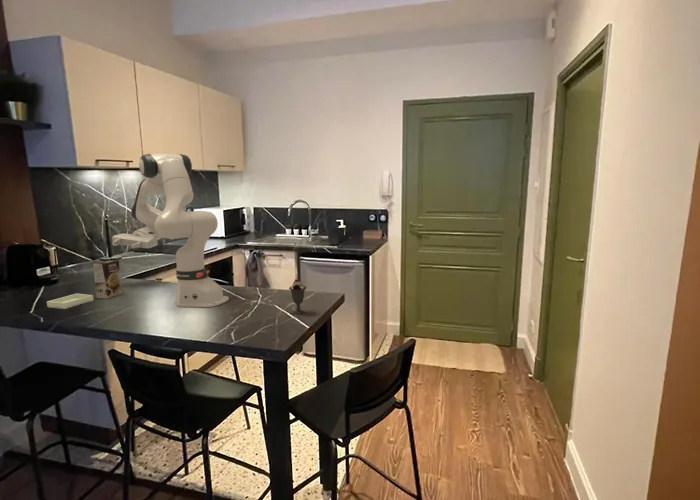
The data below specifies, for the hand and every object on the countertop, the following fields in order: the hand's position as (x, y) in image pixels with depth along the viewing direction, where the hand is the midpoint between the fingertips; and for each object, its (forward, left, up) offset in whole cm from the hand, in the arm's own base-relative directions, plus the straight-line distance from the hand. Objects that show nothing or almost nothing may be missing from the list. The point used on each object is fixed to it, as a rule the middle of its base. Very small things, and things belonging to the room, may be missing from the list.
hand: (122, 245), depth 197 cm
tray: (+5, +25, -22) cm, 34 cm away
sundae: (-96, +8, -22) cm, 99 cm away
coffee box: (0, +10, -22) cm, 24 cm away
